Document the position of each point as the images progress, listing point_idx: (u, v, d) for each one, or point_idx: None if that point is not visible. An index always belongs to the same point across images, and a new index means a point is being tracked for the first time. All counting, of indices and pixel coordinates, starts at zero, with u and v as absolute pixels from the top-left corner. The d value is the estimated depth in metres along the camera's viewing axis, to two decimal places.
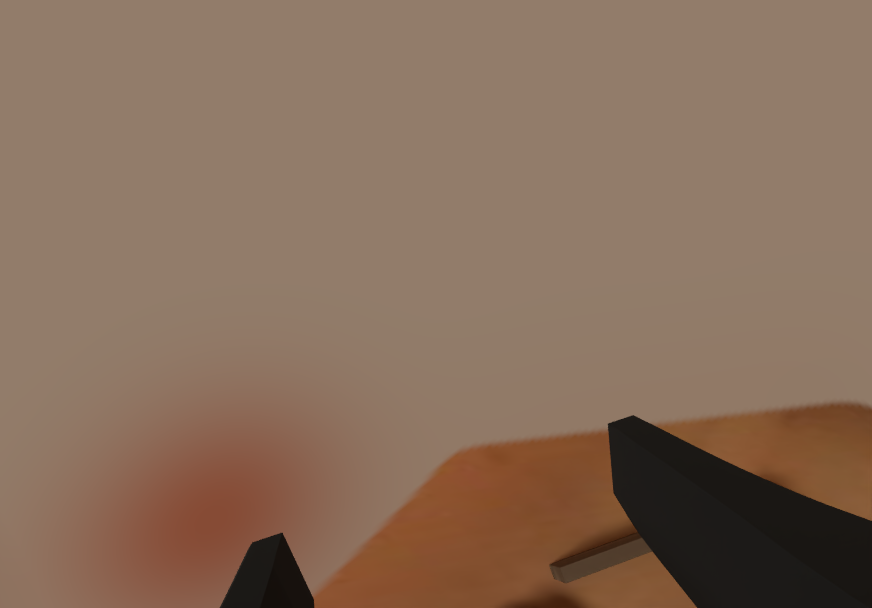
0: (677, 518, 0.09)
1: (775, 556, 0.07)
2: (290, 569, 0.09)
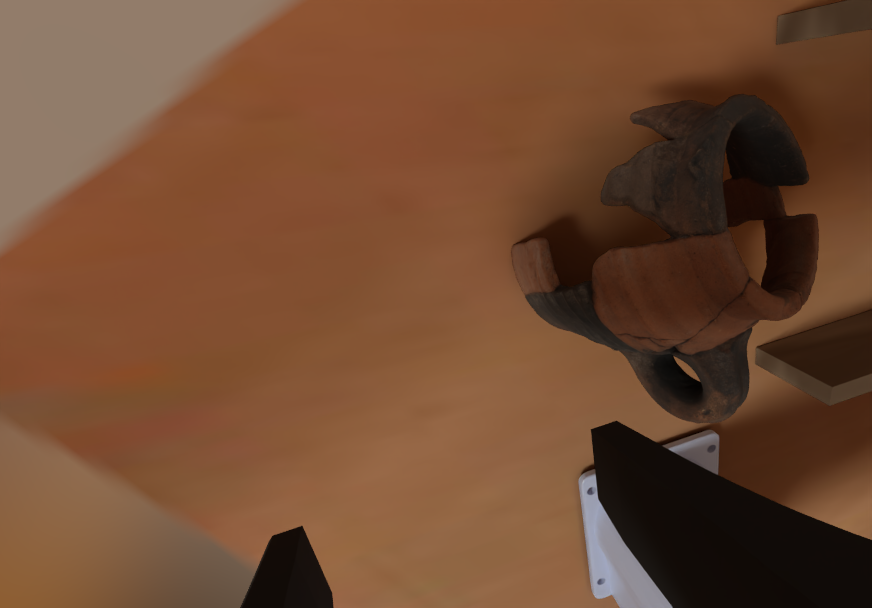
0: (657, 525, 0.09)
1: (749, 566, 0.06)
2: (310, 562, 0.09)
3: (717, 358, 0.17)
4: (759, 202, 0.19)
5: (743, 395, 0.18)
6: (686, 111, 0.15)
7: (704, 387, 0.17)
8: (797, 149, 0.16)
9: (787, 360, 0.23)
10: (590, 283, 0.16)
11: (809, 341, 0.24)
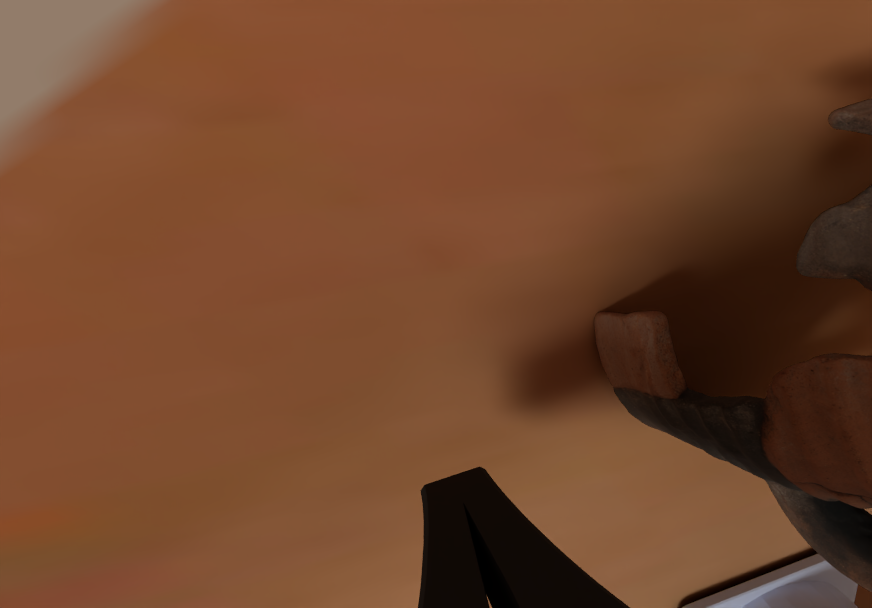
0: (495, 585, 0.08)
1: None
2: None
3: None
4: None
5: None
6: None
7: None
8: None
9: None
10: (761, 404, 0.09)
11: None
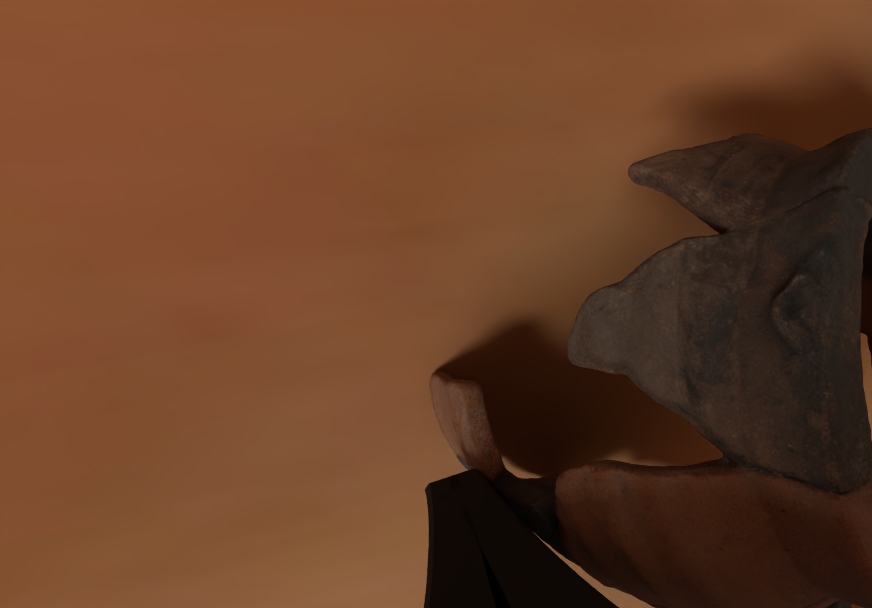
0: None
1: None
2: None
3: None
4: None
5: None
6: (747, 163, 0.07)
7: None
8: None
9: None
10: (553, 505, 0.08)
11: None
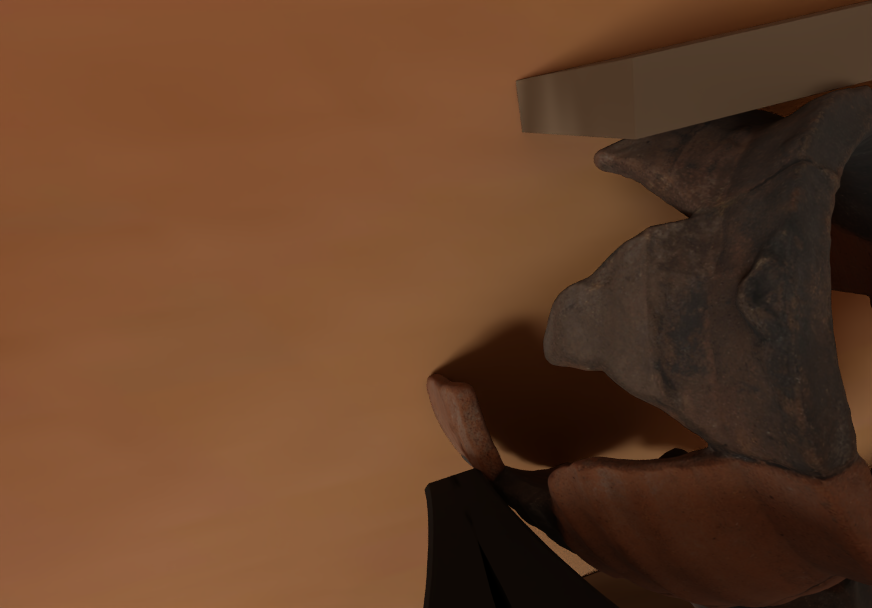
0: (489, 587, 0.08)
1: None
2: None
3: (818, 602, 0.09)
4: (858, 265, 0.10)
5: None
6: (712, 140, 0.07)
7: None
8: None
9: None
10: (549, 503, 0.08)
11: None
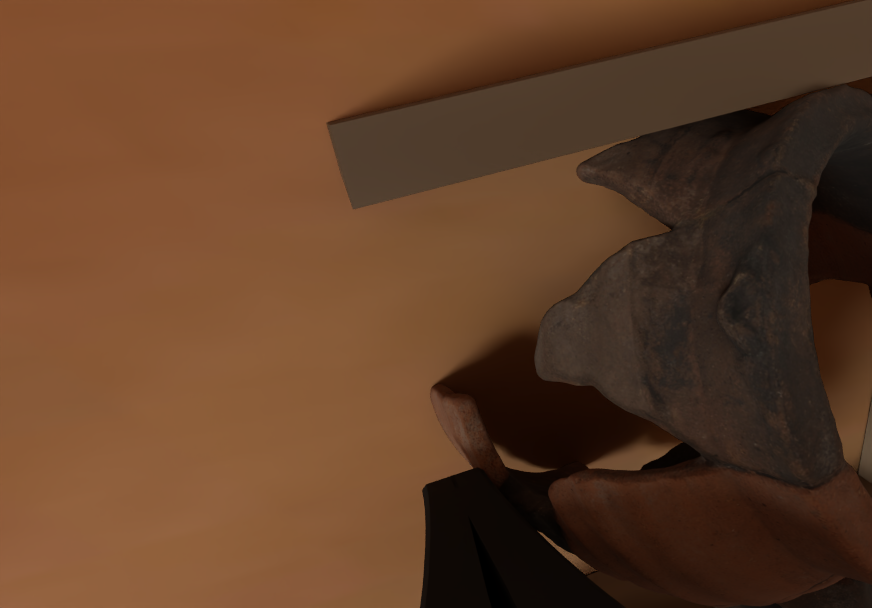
0: (493, 586, 0.08)
1: None
2: None
3: (827, 595, 0.09)
4: (855, 254, 0.10)
5: None
6: (692, 149, 0.07)
7: None
8: None
9: None
10: (552, 512, 0.08)
11: None
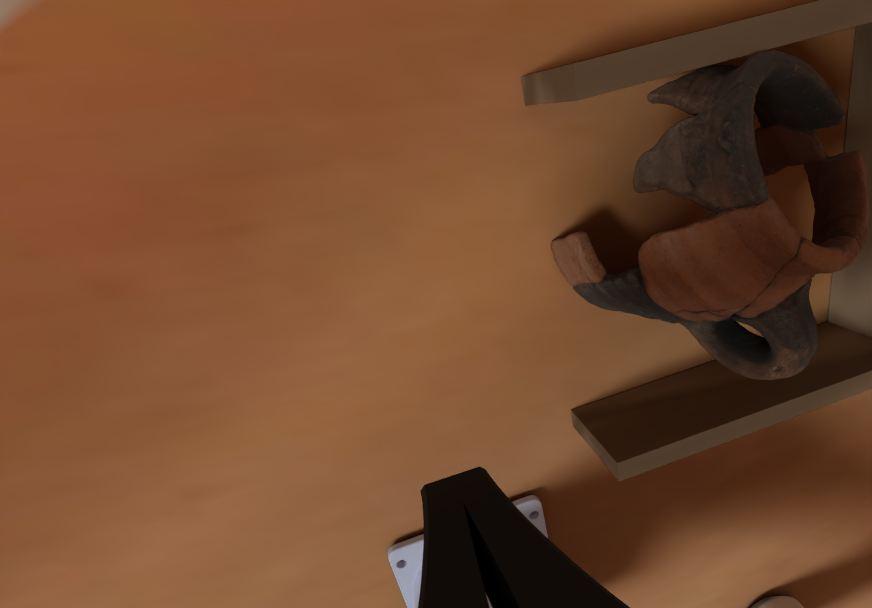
0: (495, 585, 0.08)
1: None
2: None
3: (780, 316, 0.17)
4: (795, 147, 0.18)
5: (814, 346, 0.17)
6: (704, 81, 0.15)
7: (772, 346, 0.17)
8: (828, 90, 0.16)
9: (591, 426, 0.22)
10: (638, 269, 0.16)
11: (623, 403, 0.23)
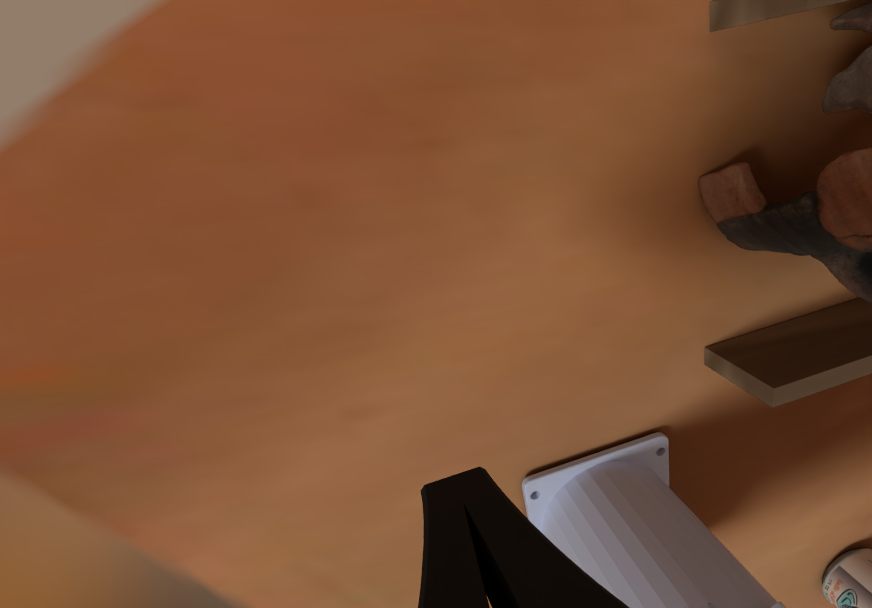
0: (495, 585, 0.08)
1: None
2: None
3: None
4: None
5: None
6: None
7: None
8: None
9: (733, 360, 0.22)
10: (814, 193, 0.17)
11: (758, 341, 0.23)
